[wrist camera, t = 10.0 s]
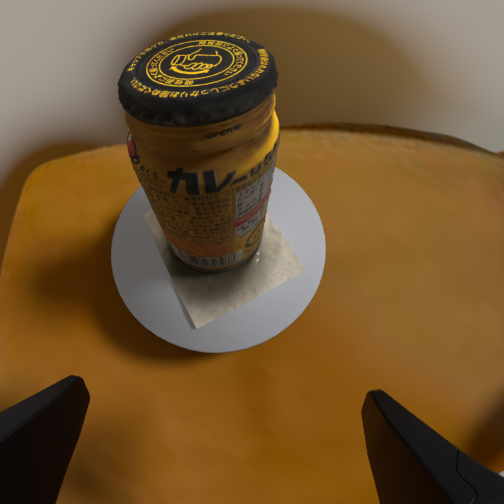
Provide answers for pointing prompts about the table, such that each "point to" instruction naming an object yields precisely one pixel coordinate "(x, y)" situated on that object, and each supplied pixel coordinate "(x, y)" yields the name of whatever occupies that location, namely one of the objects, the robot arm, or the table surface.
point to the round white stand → (241, 319)
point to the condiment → (208, 166)
